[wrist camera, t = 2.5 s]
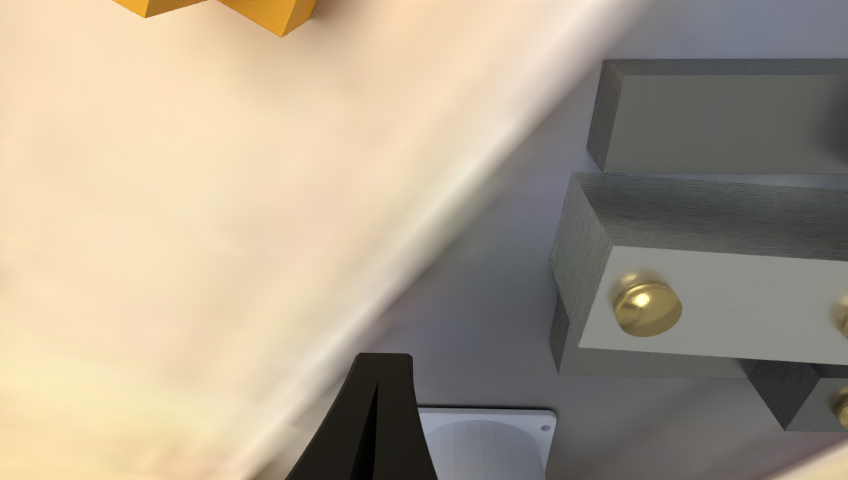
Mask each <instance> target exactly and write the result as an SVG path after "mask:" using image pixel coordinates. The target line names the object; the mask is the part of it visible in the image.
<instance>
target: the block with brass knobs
mask: <svg viewBox="0 0 848 480" xmlns="http://www.w3.org/2000/svg"><path fill="white" fill-rule="evenodd" d="M549 261H550V264H551V267H552V270H553V273H554V276H555V279H556V282H557V285H558V288H559V291H560V294H561V297H562V300H563V303H564V306H565V309H566V312H567V315H568V318H569V321H570V324H571V327H572V330H573V333H574V337H575V340H576V343H577V346H578V347H582V348H597V349H612V350H627V351H642V352H657V353H672V354H687V355H702V356H717V357H733V358H748V359H763V360H778V361H793V362H808V363H823V364H838V365H848V193H847V192H845V191H844V190H833V189H818V188H804V187H789V186H775V185H760V184H745V183H731V182H716V181H702V180H687V179H673V178H658V177H644V176H629V175H615V174H600V173H586V172H572V174H571V177H570V181H569V185H568V189H567V193H566V197H565V201H564V204H563V208H562V212H561V216H560V220H559V224H558V228H557V232H556V235H555V239H554V243H553V247H552V251H551V255H550V259H549Z"/></svg>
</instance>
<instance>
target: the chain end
mask: <svg viewBox="0 0 848 480" xmlns="http://www.w3.org/2000/svg"><path fill="white" fill-rule="evenodd" d="M587 150H588V152H589V153H590V155H591V156H592V157H593V159H594V160H595V162H596V163H597V165H598V166H599V168H600V169H601V171H602V172H603V173H736V174H848V59H635V60H604V61H603V66H602V71H601V77H600V82H599V87H598V92H597V97H596V102H595V108H594V113H593V118H592V123H591V128H590V133H589V138H588V144H587ZM549 342H550V346H551V350H552V353H553V357H554V361H555V365H556V368H557V372H558V375H581V376H638V377H695V378H748V379H749V380H750V382H751V383H752V385H753V386H754V387H755V389H756V390H757V392H758V393H759V395H760V396H761V398H762V399H763V400H764V402H765V403H766V405H767V406H768V408H769V409H770V411H771V412H772V413H773V415H774V416H775V418H776V419H777V421H778V422H779V423H780V425H781V426H782V428H783V429H784V431H806V432H848V365H838V364H823V363H808V362H793V361H778V360H763V359H748V358H733V357H717V356H702V355H687V354H672V353H657V352H642V351H627V350H612V349H597V348H582V347H578V346H577V343H576V340H575V337H574V333H573V330H572V327H571V324H570V321H569V318H568V315H567V312H566V309H565V306H564V303H563V300H562V297H561V294H560V291H559V293H558V298H557V303H556V309H555V314H554V319H553V324H552V329H551V334H550V340H549Z"/></svg>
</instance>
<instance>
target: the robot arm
mask: <svg viewBox="0 0 848 480" xmlns="http://www.w3.org/2000/svg"><path fill="white" fill-rule="evenodd" d="M556 422H557V420H556V415H555V413H554V412H552V411H549V410H511V409H460V408H418V407H417V402H416V396H415V391H414V384H413V357H412V356H411V355H409V354H404V353H359V354H358V355H356V357H355V359H354V362H353V364H352V367H351V369H350V371H349V373H348V375H347V377H346V380H345V382H344V384H343V386H342V388H341V389H340V391H339V393H338V395H337V397H336V399H335V401H334V403H333V404H332V406H331V408H330V410H329V411H328V413H327V415H326V417H325V418H324V420H323V422H322V424H321V425H320V427H319V429H318V430H317V432H316V434H315V435H314V437H313V438H312V440H311V441H310V443H309V444H308V446H307V447H306V449H305V451H304V452H303V454H302V455H301V457H300V458H299V460H298V461H297V463H296V464H295V466H294V467H293V469H292V470H291V472H290V473H289V474H288V476H287V477H286V479H285V480H546V478H545V469H546V464H547V460H548V456H549V452H550V448H551V443H552V439H553V435H554V431H555V427H556Z"/></svg>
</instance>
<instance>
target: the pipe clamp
mask: <svg viewBox="0 0 848 480" xmlns="http://www.w3.org/2000/svg"><path fill="white" fill-rule="evenodd" d="M113 1H114V2H116V3H118V4H120V5H122V6H123V7H125V8H127V9H129V10H131V11H132V12H134V13H136V14H138V15H140V16H141V17H143V18H148V17H151V16H154V15H158V14H161V13H165V12H168V11H172V10H175V9H179V8H182V7H186V6H189V5H193V4H196V3H199V2H203V1H206V0H113ZM218 1H220V2H222V3H223V4H225V5H227V6H228V7H230V8H232V9H234V10H235V11H237V12H239V13H240V14H242V15H244V16H245V17H247V18H249V19H251V20H252V21H254V22H256V23H257V24H259V25H261V26H262V27H264V28H266V29H267V30H269V31H271V32H273V33H274V34H276V35H278V36H279V37H281V38H282V37H283V36H285V35H286V34H288V33H289V32H291V31H292V30H294V29H295V28H297V27H298V26H300V25H301V24H303V23H304V22H306V21H307V20H309V19H310V16H311V14H312V12H313V9H314V7H315V4H316V2H317V0H218Z"/></svg>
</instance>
